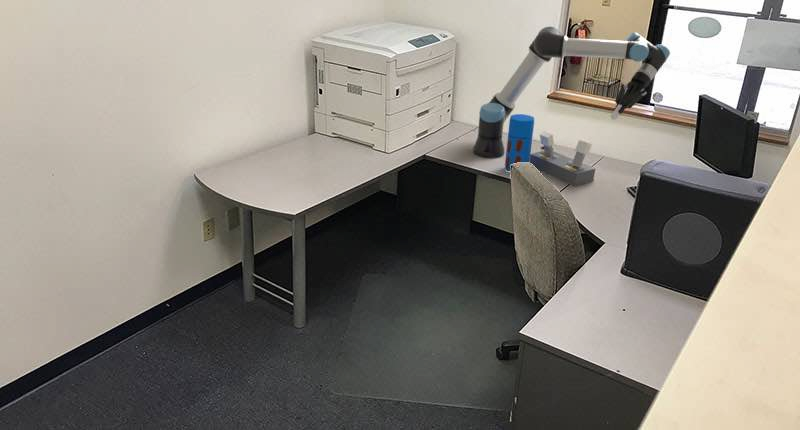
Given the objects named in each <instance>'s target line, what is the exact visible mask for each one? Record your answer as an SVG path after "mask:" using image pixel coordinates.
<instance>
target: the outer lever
mask: <svg viewBox="0 0 800 430" xmlns="http://www.w3.org/2000/svg"><path fill="white" fill-rule="evenodd" d="M592 145H593V144H592V143H590V142H589V141H585V140H581V139H578V142H577V144H576V146H575V148H574V151H575V155H574V157H573V159H574V160H573V162H572V164H574V165H576V166H579V167H580V166H581V165H582V163H583V162H584V160H585V157H586V155H587V156H588V155H589V152H590V150H591V148H592Z"/></svg>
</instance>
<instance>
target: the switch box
mask: <svg viewBox="0 0 800 430" xmlns="http://www.w3.org/2000/svg"><path fill="white" fill-rule="evenodd" d="M573 160H574V158H571V157H569V156H566V155H565V154H564V155H563V154H561V153H558V152H556V151H554V150H553V155H552V156H551V157H550V156H548V155H546V154H545V152H544V149H543V150H541V151H537V152H532V153H530V161H529V162H530V163H532V164H533V165H534V166H535V167H536V168H537V169H538V170H537V169H536V170H537V171H540V172H542V173H543V174H546V175H547V176H550V177H553V178H555V179H556V180H560V181H561V182H564V183H566V184H567V185H571V186H573V187H577V186H582V185H584V184H588V183H591V182H594V179H595V174H596V168H595V167H593V166H590V165H588V164H585V163H583V162H582V165H581V166H580V167H579V166H576V165H574V164H572V162H573Z"/></svg>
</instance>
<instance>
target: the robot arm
mask: <svg viewBox="0 0 800 430" xmlns="http://www.w3.org/2000/svg"><path fill="white" fill-rule="evenodd" d="M528 50H529V51H528V53H527V55H526V56H525V57H524V58H523V60H522V61H521V63H520V64H519V66H518V67H517V69H516V70H515V72H514V73H513V74H512V76H511V77H510V79H508V81H507V82H506V84H505V85H504V87H503V88H502V90H501V91H500V92H496V93H495V94H494V95H493V96H492V98H491V100H490V101H489V102H488V103H485V104H483V105H481V106H480V109H479V117H478V128H477V129H478V130H477V131H478V132H477V138H476V141H475V143H474V145H473V147H472V148H473V149H472V153H473V154H474V155H476V156H478V157H481V158H485V159H498V158H501V157H503V156H504V155H505V147H504V142H503V130H504V124H505V122H506V120H507V119H508V117H509V116H511V113H512V112H513V111H514V109H515V107H516V101H517V100H518V99H519V97H520V96H521V95H522V93H523V92H524V91H525V89H526V88H527V86H528V85H529V84H530V83H531V81H532V80H533V79H534V77H535V76H536V75H537V73H538V72H539V70H540V69H541V68H542V66H543V65H544V64H545V63H549V62H550V61H551V60H552V58H562V59H563V58H565V57H583V58H584V57H585V58H602V59H618V60H619V59H623V60H632V61H634V62H637V63H638V62H642V64H640V66H639V68H638V69H637V70H636V72H635V73H634V74H633V75H632V77H631V80H630V81H628V83H627V84H624V83H621V85H620V90H619V92H618V94H617V96H616V98H615V100H614V102H615V107H614V108H613V112H612V113H611V114H610V118H611V119H612V120H613V121H616V120H617V119H618V117H619V116H620V115H622V114H623V113H624V111H625V110H626V109H632V107H634V106H635V105H636V104H637V103H638V102H639V101H641V99H643V97H646V96H647V95H648V92H647V90H646V88H647V87H648V86H649V84H650V83H651V81H652V80H653V79H654V77H655V76H656V75H657V73H658V72H659V71H660V69H661V68H662V66H663V65H665V63H666V62H667V60H668V58H669V57H670V55H671V51H670V49H669V48H668V47H667V46H666V45H664V44H655V45H654V44H652V43H651V42H650V41H648V40H647V39H646V38H644V37H643V36H642V35H641V34H639V33H638V32H632V33H631V34H630V35H629V36H628V37H627V38H626V39H625V40H613V39H612V40H611V39H595V38H594V39H592V38H591V39H590V38H578V37H577V38H574V37H573V38H572V37H568V36H567V35H566V34H564V35H563V34H562V32H561V31H560V29H559V28H557V27H555V26H546V27H545V26H544V27H543V28H541V30H539V31H538V33H537V35H536V36H535V38H534V39H533V41H532V42H531V43H530V45H529V47H528Z"/></svg>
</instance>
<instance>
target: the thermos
mask: <svg viewBox="0 0 800 430" xmlns="http://www.w3.org/2000/svg"><path fill="white" fill-rule="evenodd" d="M534 127H535V117H534V116H532V115H529V114H525V113H524V114H523V113H522V114H521V113H517V114H516V113H515V114H511V115H510V117H509V122H508V131H507V132H508V133H507V142H506V153H505V163H504V170H505V169H506V170H507V171H510V165H511V164H513V163H517V162H530V154H532V153H531V152H532V143H533V135H534Z"/></svg>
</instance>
